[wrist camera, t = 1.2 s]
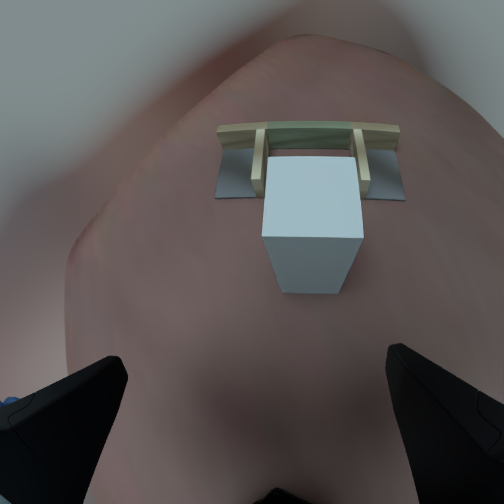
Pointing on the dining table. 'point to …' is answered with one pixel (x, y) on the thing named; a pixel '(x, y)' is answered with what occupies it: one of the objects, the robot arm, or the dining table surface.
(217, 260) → the dining table surface
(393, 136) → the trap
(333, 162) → the grey block
